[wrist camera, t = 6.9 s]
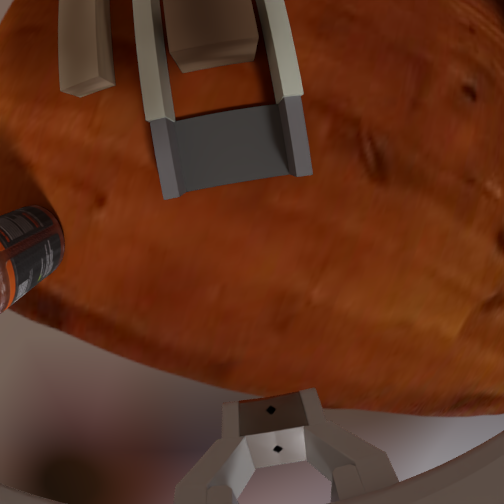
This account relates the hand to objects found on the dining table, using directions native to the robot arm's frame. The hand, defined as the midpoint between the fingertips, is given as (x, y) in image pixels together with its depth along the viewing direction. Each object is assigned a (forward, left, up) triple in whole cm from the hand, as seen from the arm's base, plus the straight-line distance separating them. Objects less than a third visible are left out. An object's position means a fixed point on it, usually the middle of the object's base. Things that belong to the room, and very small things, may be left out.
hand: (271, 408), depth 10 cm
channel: (0, -17, -15) cm, 22 cm away
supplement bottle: (+17, -5, -15) cm, 23 cm away
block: (0, -17, -15) cm, 23 cm away
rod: (+9, -22, -15) cm, 28 cm away
